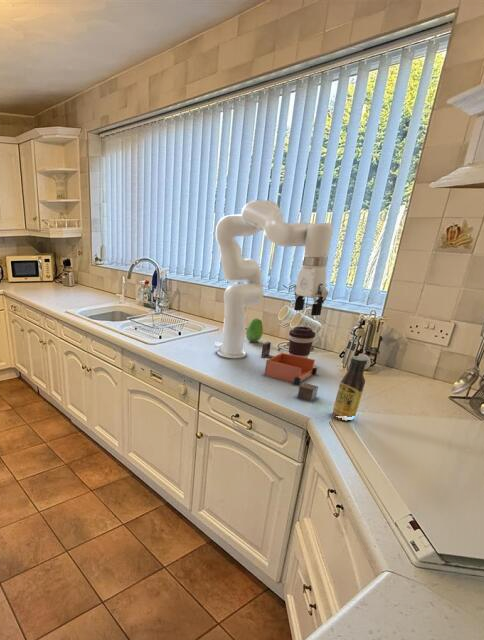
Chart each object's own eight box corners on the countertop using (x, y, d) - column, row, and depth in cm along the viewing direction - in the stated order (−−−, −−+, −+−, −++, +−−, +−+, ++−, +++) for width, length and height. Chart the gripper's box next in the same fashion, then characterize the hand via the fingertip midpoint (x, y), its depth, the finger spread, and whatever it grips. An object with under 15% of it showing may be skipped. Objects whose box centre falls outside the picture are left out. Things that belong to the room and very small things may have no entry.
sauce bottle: (327, 415, 124) (340, 355, 116) (341, 411, 126) (355, 352, 118) (345, 424, 118) (360, 362, 110) (360, 420, 120) (376, 359, 112)
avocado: (262, 344, 195) (265, 320, 191) (245, 343, 197) (248, 319, 192) (260, 339, 202) (263, 316, 198) (244, 339, 204) (247, 316, 200)
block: (297, 398, 136) (299, 386, 134) (302, 394, 139) (304, 382, 137) (310, 402, 133) (313, 390, 131) (315, 398, 136) (318, 386, 134)
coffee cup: (286, 365, 167) (292, 330, 161) (283, 357, 176) (288, 325, 170) (312, 366, 164) (318, 331, 159) (307, 359, 173) (313, 326, 168)
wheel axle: (293, 384, 147) (294, 377, 146) (310, 373, 157) (312, 367, 156) (298, 386, 146) (300, 379, 145) (316, 374, 156) (317, 368, 155)
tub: (253, 372, 159) (257, 346, 155) (269, 364, 168) (272, 339, 163) (297, 383, 147) (302, 355, 143) (312, 374, 156) (317, 348, 151)
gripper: (289, 261, 141) (283, 308, 147) (321, 264, 125) (312, 318, 131) (308, 260, 142) (301, 307, 148) (342, 263, 126) (332, 316, 132)
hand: (306, 312), depth 139 cm, fingers open, 9 cm apart
